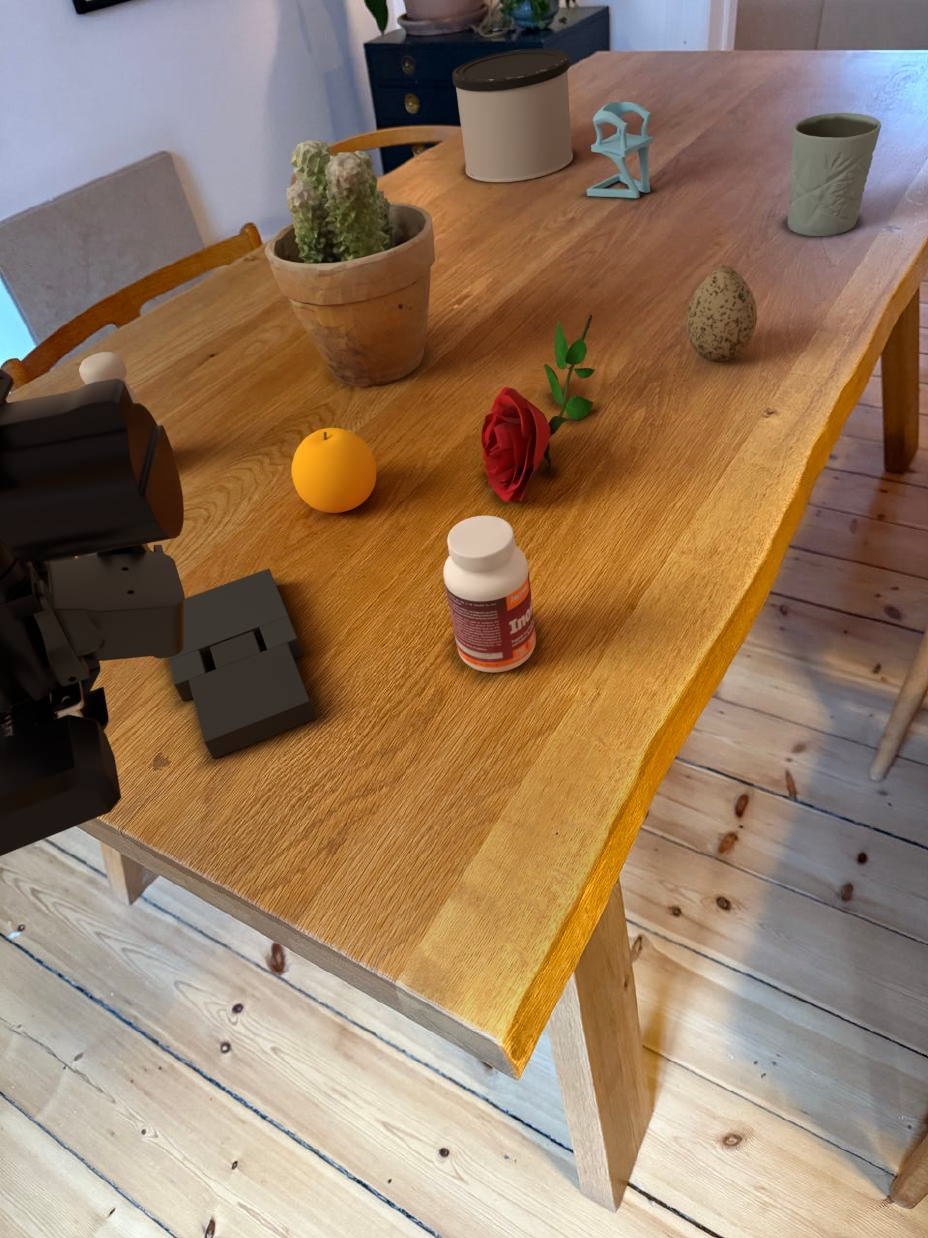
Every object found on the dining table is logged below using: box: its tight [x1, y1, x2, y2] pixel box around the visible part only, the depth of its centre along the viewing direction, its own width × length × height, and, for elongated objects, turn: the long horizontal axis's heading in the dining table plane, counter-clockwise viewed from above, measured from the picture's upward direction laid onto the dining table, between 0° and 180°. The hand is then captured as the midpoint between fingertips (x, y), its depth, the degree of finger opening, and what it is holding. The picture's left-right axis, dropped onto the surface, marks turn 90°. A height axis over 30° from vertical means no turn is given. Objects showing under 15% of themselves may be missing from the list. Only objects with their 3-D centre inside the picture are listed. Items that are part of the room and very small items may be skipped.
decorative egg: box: [685, 265, 758, 362], centre depth 93 cm, size 7×7×10 cm
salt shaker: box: [78, 351, 142, 404], centre depth 92 cm, size 6×6×13 cm
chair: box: [586, 101, 654, 199], centre depth 133 cm, size 8×8×12 cm
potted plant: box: [264, 139, 436, 388], centre depth 98 cm, size 18×19×25 cm
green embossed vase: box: [787, 112, 882, 237], centre depth 114 cm, size 10×10×12 cm
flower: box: [480, 314, 596, 503], centre depth 89 cm, size 9×10×30 cm
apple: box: [291, 427, 377, 514], centre depth 84 cm, size 8×8×8 cm
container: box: [451, 48, 574, 183], centre depth 149 cm, size 19×19×15 cm
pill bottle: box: [442, 515, 537, 673], centre depth 66 cm, size 6×6×11 cm
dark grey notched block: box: [167, 568, 305, 702], centre depth 74 cm, size 10×10×2 cm
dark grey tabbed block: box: [189, 631, 317, 760], centre depth 69 cm, size 8×10×2 cm
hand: (98, 781), depth 50 cm, fingers closed
